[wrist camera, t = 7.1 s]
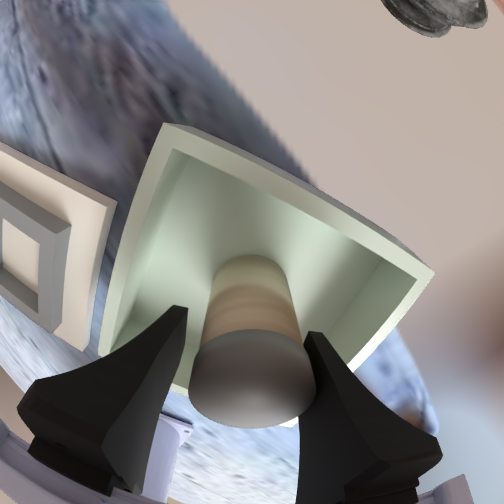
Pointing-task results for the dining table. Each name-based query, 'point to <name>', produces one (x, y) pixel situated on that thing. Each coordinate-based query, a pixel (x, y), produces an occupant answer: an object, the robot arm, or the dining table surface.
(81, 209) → the square socket plate
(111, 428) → the robot arm
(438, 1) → the salt shaker
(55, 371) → the dining table surface
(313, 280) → the bin
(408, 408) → the dining table surface
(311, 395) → the strut
